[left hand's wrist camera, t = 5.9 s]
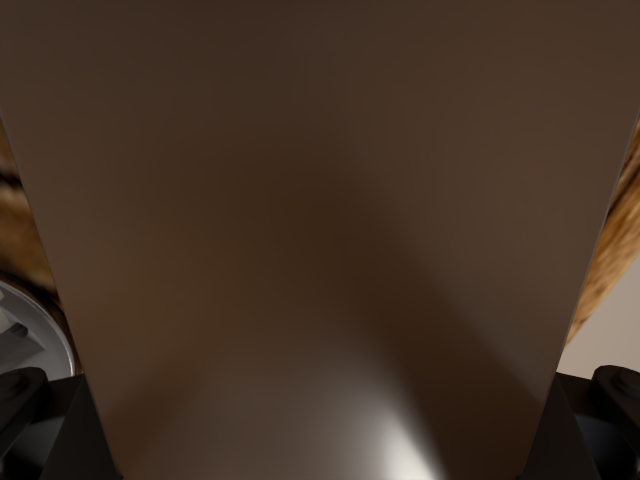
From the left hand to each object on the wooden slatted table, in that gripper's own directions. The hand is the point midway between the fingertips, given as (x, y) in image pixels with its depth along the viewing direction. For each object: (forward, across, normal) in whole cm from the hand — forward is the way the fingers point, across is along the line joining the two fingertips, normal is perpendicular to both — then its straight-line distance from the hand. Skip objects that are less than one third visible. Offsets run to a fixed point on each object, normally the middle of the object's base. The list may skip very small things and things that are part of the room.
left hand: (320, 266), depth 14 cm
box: (+2, 0, -7) cm, 8 cm away
